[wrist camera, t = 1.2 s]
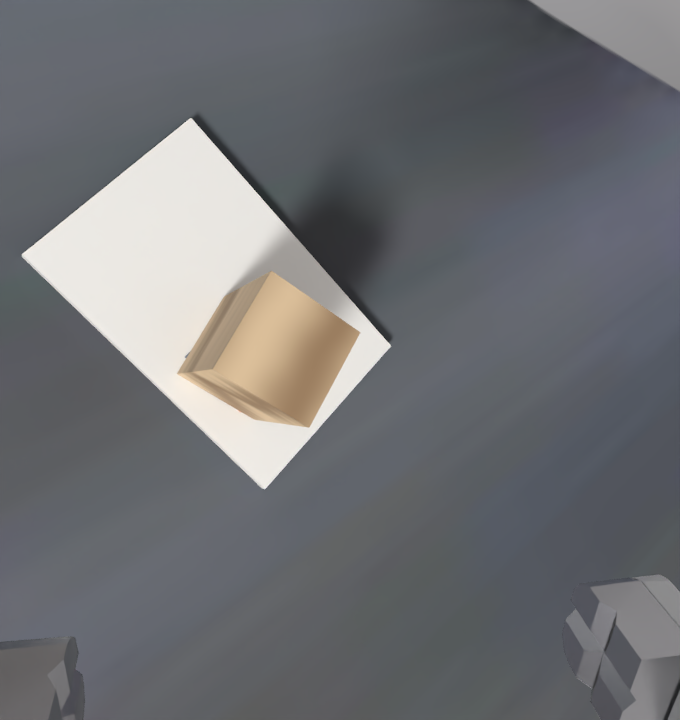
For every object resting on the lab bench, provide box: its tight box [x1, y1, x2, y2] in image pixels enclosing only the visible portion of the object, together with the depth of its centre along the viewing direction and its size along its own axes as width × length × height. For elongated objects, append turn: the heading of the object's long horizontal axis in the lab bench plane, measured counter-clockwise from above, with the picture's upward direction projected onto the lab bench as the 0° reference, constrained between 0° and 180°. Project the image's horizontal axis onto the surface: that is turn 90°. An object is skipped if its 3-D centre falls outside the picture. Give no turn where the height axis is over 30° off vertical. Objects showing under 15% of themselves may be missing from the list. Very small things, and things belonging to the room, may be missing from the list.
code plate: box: [22, 118, 391, 489], centre depth 43 cm, size 21×14×1 cm, turn 45°
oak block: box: [177, 271, 360, 428], centre depth 38 cm, size 6×6×10 cm
